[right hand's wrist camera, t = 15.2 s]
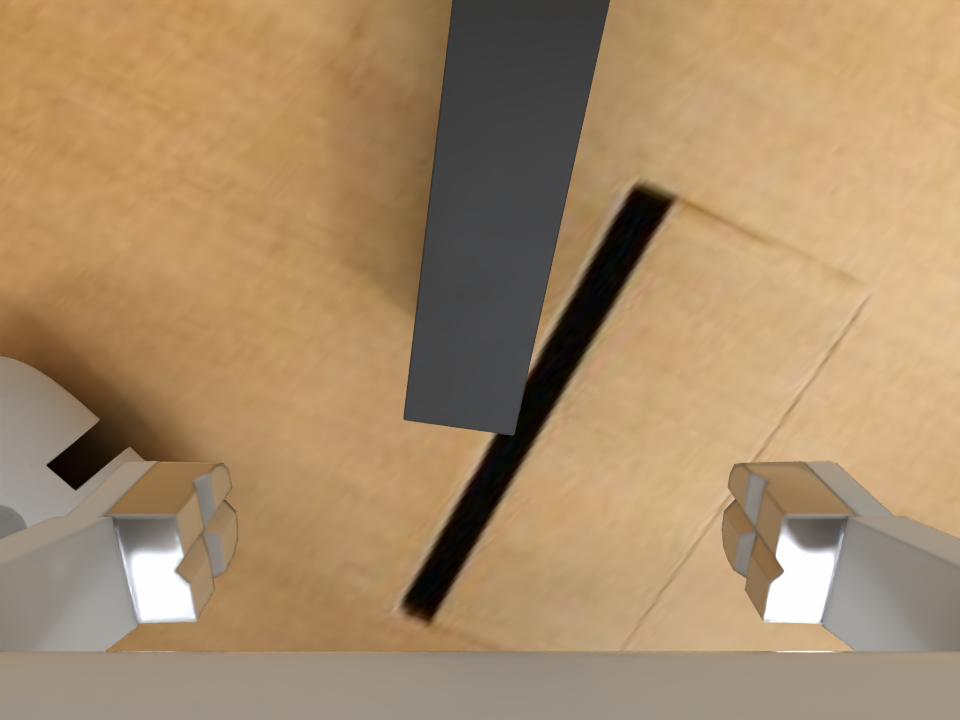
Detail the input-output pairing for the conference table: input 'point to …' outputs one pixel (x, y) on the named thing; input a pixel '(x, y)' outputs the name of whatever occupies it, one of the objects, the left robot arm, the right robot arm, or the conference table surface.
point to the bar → (497, 202)
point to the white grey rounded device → (40, 447)
